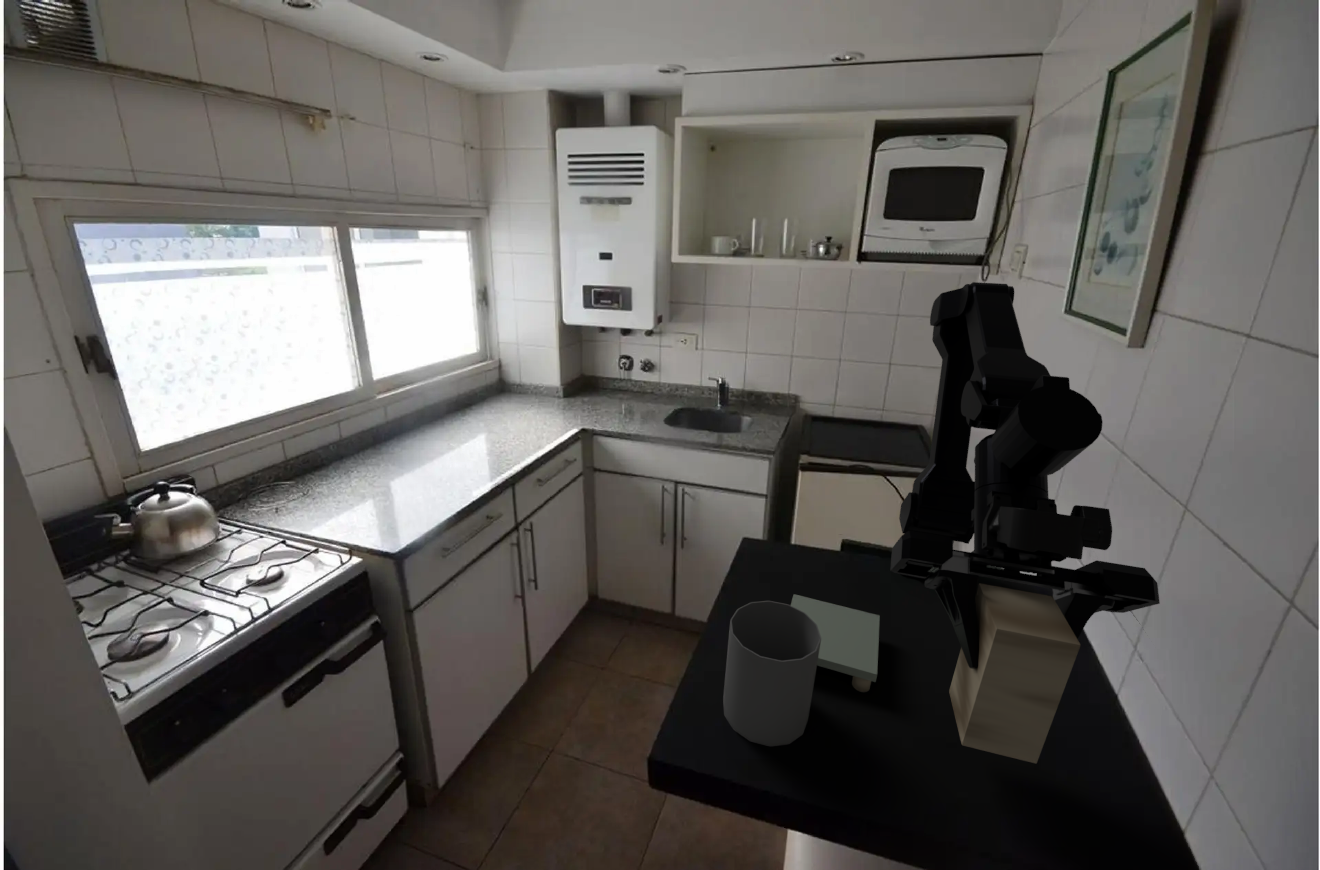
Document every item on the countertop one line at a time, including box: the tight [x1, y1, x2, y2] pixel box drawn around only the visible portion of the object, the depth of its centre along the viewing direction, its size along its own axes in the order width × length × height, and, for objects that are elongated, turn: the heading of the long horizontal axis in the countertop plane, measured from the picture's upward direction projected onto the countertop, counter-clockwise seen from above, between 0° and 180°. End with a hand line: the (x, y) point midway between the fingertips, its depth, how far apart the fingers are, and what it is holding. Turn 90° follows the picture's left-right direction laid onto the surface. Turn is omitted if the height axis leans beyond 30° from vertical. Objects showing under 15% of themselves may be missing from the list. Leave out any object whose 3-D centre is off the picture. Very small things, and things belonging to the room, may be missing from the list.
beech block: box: [948, 582, 1081, 764], centre depth 46 cm, size 6×6×12 cm
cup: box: [722, 600, 821, 747], centre depth 54 cm, size 8×8×10 cm
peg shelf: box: [790, 593, 880, 693], centre depth 63 cm, size 10×10×3 cm
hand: (1013, 676), depth 45 cm, fingers closed on beech block, 5 cm apart
